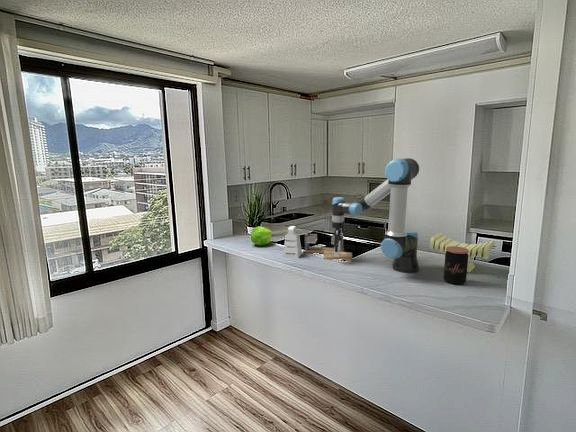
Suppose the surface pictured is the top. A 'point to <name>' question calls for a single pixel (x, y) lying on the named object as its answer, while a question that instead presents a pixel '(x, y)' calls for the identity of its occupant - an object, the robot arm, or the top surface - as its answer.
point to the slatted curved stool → (474, 249)
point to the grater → (292, 243)
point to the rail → (341, 255)
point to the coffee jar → (456, 265)
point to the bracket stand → (310, 250)
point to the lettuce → (261, 236)
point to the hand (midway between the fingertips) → (337, 253)
